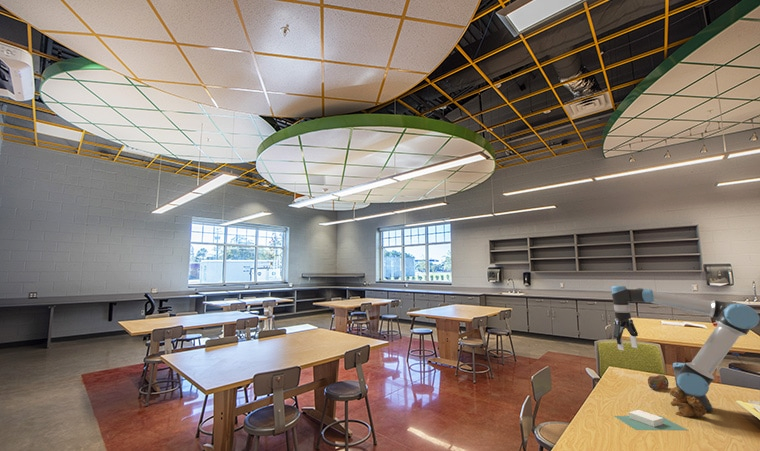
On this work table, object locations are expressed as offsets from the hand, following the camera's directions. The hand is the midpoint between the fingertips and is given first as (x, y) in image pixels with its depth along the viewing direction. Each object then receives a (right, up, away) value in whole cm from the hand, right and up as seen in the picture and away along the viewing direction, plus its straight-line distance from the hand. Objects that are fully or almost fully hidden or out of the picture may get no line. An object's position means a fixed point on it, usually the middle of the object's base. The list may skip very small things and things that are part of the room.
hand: (627, 348), depth 188 cm
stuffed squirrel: (+17, -26, -22) cm, 38 cm away
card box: (-15, -25, -23) cm, 37 cm away
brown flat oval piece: (+35, -34, +19) cm, 52 cm away
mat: (-12, -26, -29) cm, 41 cm away
